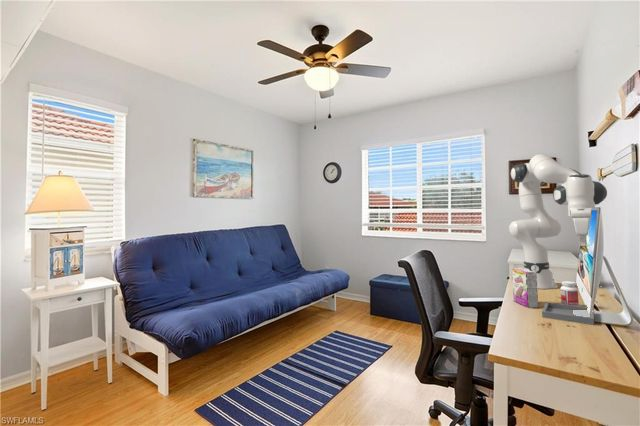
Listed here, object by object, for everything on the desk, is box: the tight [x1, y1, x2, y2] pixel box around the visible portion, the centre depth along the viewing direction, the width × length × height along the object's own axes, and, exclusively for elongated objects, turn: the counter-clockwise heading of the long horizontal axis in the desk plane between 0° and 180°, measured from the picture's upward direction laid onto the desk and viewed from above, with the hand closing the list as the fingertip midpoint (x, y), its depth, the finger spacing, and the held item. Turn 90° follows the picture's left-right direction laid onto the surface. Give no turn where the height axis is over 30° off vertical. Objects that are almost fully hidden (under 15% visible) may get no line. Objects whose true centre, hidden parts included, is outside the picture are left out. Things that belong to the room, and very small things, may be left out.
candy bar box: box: [511, 267, 539, 309], centre depth 144 cm, size 11×5×16 cm, turn 179°
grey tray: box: [541, 301, 595, 326], centre depth 127 cm, size 16×16×2 cm
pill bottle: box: [559, 280, 580, 306], centre depth 138 cm, size 6×6×11 cm
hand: (583, 244), depth 128 cm, fingers open, 8 cm apart
